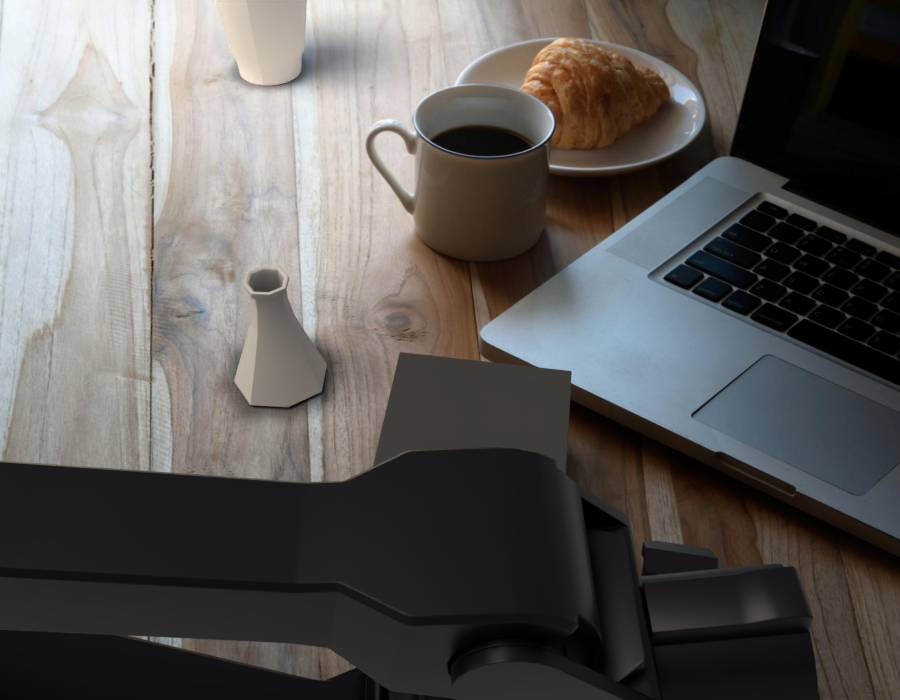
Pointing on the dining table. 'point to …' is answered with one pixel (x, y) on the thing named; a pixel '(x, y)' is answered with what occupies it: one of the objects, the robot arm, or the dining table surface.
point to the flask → (276, 346)
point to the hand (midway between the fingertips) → (521, 547)
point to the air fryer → (475, 407)
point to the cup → (265, 37)
